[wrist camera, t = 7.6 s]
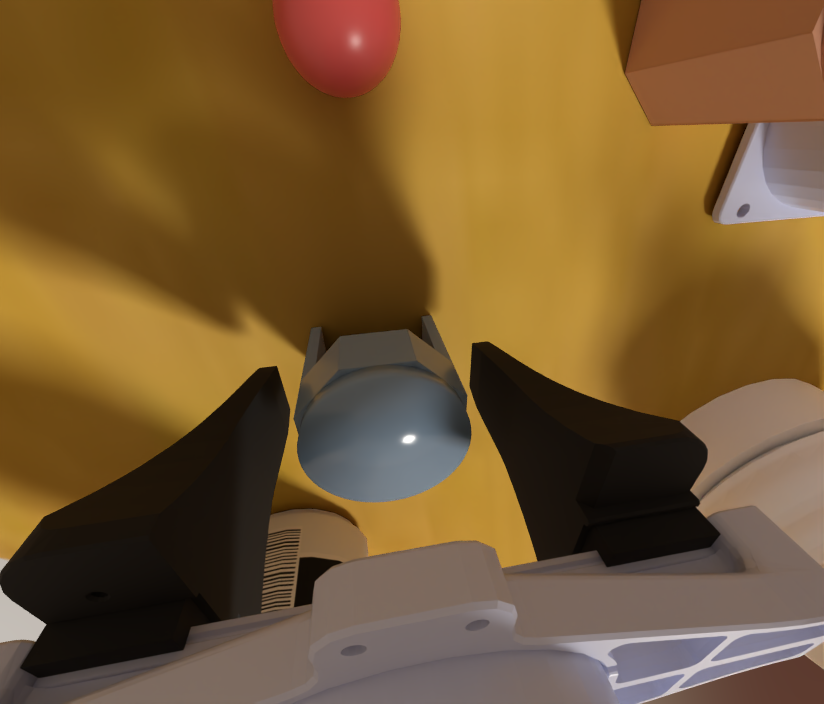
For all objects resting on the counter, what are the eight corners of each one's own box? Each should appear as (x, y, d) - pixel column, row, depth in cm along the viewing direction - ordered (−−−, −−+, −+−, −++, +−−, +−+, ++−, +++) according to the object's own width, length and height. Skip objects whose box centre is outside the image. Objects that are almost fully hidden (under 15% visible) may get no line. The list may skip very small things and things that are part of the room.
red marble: (389, -42, 9) (405, -110, 6) (396, 100, 11) (412, 90, 8) (270, -43, 9) (238, -115, 6) (297, 104, 10) (280, 95, 8)
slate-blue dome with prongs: (430, 282, 14) (476, 366, 9) (431, 381, 17) (467, 488, 12) (303, 294, 13) (276, 390, 8) (326, 395, 16) (315, 513, 11)
